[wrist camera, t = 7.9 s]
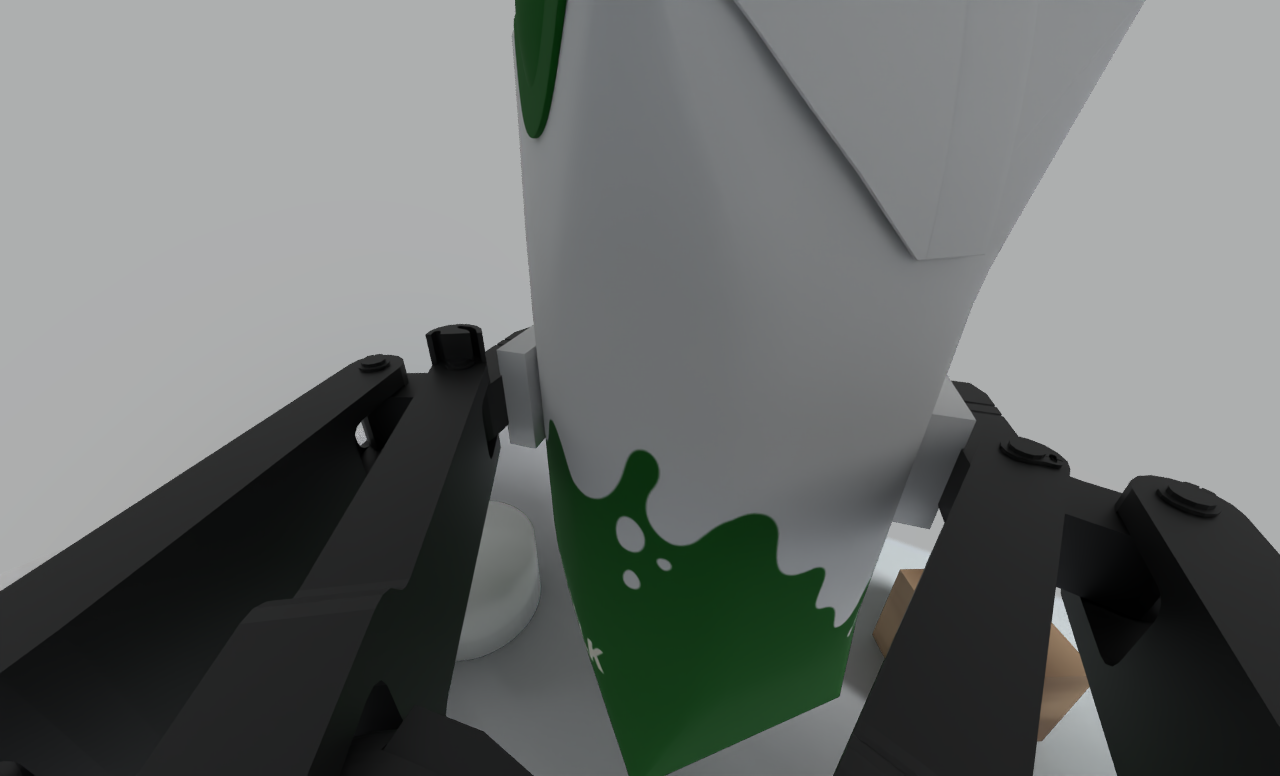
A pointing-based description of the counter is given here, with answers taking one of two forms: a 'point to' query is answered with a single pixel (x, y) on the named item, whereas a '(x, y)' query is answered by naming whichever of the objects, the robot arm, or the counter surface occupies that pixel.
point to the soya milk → (761, 310)
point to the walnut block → (1061, 668)
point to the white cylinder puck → (501, 583)
